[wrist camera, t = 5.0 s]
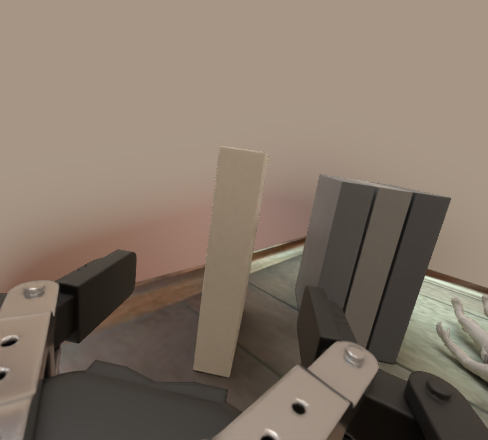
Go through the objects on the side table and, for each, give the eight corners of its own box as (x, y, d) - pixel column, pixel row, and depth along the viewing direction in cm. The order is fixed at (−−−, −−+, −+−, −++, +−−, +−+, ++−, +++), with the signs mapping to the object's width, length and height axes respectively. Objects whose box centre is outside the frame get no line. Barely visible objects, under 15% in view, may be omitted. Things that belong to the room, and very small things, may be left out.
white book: (192, 370, 17) (219, 145, 13) (218, 303, 24) (239, 151, 21) (229, 378, 16) (265, 152, 13) (243, 308, 24) (268, 155, 21)
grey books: (303, 345, 20) (342, 181, 17) (294, 290, 29) (319, 174, 26) (395, 364, 20) (451, 197, 17) (358, 302, 29) (391, 185, 25)
